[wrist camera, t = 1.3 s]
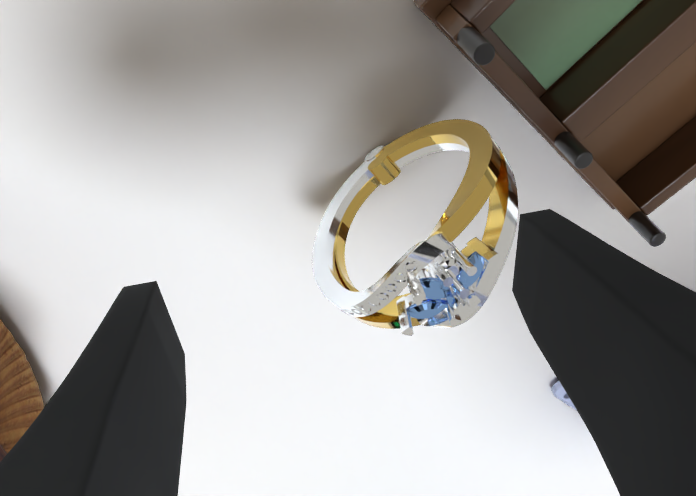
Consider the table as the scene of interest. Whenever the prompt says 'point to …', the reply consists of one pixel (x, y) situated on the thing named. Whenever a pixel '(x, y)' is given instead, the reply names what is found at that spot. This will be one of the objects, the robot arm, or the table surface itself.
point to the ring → (438, 250)
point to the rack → (594, 86)
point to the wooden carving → (16, 392)
